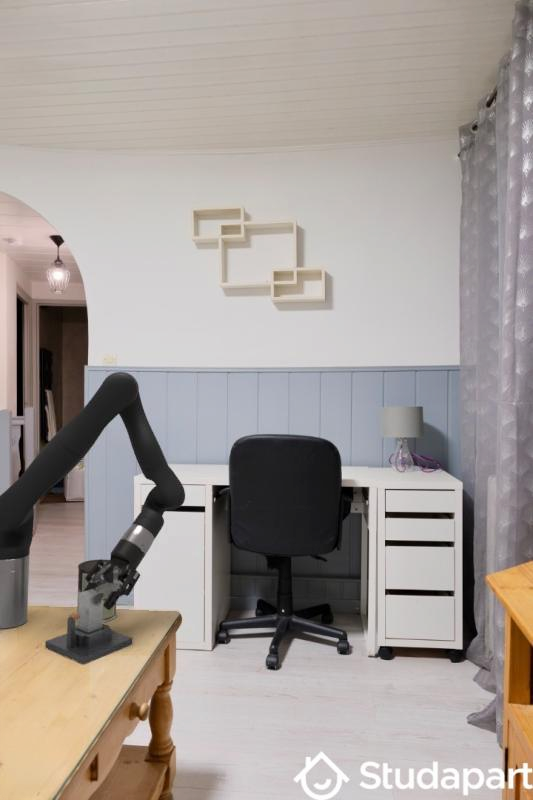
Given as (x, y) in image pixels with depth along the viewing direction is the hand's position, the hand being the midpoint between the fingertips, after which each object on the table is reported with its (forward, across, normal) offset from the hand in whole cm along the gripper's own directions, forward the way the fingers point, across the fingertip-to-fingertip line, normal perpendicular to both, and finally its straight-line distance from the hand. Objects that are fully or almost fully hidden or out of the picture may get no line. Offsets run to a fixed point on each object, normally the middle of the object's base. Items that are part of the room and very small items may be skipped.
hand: (94, 603), depth 136 cm
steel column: (+6, 0, +5) cm, 8 cm away
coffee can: (-2, -14, +15) cm, 21 cm away
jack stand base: (+8, 0, +6) cm, 10 cm away
